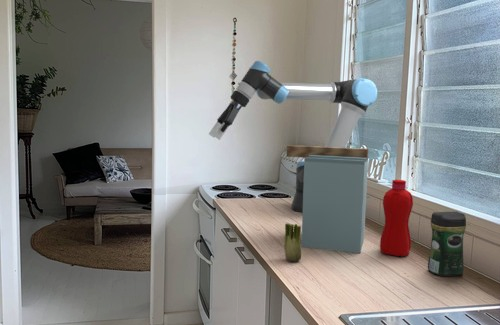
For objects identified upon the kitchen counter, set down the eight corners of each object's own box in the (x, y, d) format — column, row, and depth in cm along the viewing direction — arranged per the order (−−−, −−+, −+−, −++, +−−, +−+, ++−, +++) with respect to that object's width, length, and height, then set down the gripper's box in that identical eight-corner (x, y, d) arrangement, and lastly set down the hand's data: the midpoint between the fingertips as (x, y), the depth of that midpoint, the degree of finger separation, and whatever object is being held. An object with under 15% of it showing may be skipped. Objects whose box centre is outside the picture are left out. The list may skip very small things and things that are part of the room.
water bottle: (412, 250, 161) (417, 178, 158) (405, 258, 152) (410, 183, 148) (386, 245, 166) (390, 176, 163) (377, 253, 156) (381, 180, 153)
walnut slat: (286, 156, 172) (286, 145, 172) (289, 155, 176) (289, 145, 176) (367, 160, 164) (367, 149, 163) (367, 159, 167) (368, 148, 167)
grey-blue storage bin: (310, 233, 179) (313, 152, 176) (364, 239, 173) (368, 155, 170) (301, 246, 162) (304, 157, 159) (360, 253, 156) (364, 161, 153)
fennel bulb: (282, 258, 150) (283, 222, 148) (295, 257, 151) (297, 221, 150) (289, 264, 144) (290, 226, 143) (304, 262, 146) (305, 225, 144)
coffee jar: (450, 267, 145) (455, 208, 142) (467, 276, 137) (472, 214, 135) (422, 268, 143) (426, 209, 140) (438, 278, 135) (442, 215, 133)
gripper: (229, 90, 205) (202, 130, 204) (242, 88, 181) (211, 133, 180) (243, 100, 207) (216, 139, 206) (257, 99, 183) (227, 144, 182)
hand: (213, 137), depth 193 cm, fingers open, 13 cm apart
